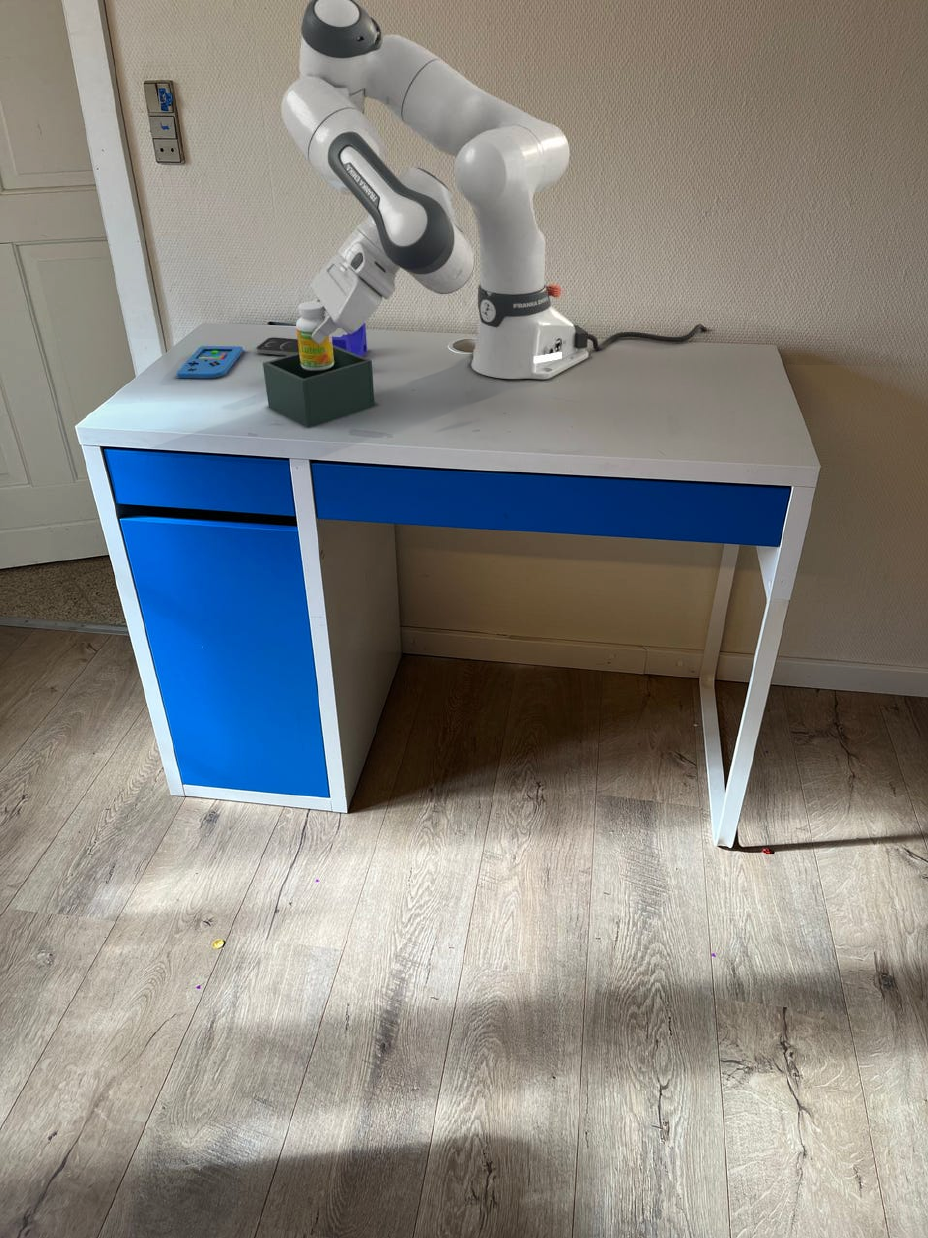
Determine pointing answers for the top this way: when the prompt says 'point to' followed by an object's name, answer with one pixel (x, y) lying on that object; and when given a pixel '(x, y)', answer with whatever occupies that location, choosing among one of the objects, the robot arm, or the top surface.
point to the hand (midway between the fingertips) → (310, 333)
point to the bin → (319, 387)
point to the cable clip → (353, 341)
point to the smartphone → (279, 346)
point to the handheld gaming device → (210, 362)
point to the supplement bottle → (309, 350)
